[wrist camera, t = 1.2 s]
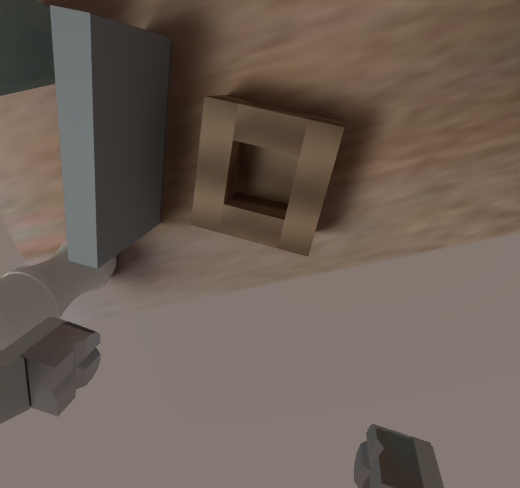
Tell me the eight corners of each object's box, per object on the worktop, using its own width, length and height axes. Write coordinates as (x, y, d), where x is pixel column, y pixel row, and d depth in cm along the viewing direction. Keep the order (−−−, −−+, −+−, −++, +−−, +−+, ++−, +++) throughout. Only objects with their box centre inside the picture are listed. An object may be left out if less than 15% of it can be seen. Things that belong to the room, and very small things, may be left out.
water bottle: (133, 263, 46) (-68, 429, 23) (100, 285, 48) (-107, 452, 26) (96, 220, 44) (-156, 353, 22) (65, 245, 47) (-187, 386, 25)
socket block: (225, 95, 34) (204, 96, 29) (344, 121, 33) (344, 127, 27) (211, 206, 39) (190, 224, 34) (312, 233, 38) (308, 256, 33)
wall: (142, 32, 34) (49, 4, 23) (171, 37, 33) (90, 12, 23) (137, 217, 42) (68, 260, 32) (159, 223, 42) (97, 268, 31)
